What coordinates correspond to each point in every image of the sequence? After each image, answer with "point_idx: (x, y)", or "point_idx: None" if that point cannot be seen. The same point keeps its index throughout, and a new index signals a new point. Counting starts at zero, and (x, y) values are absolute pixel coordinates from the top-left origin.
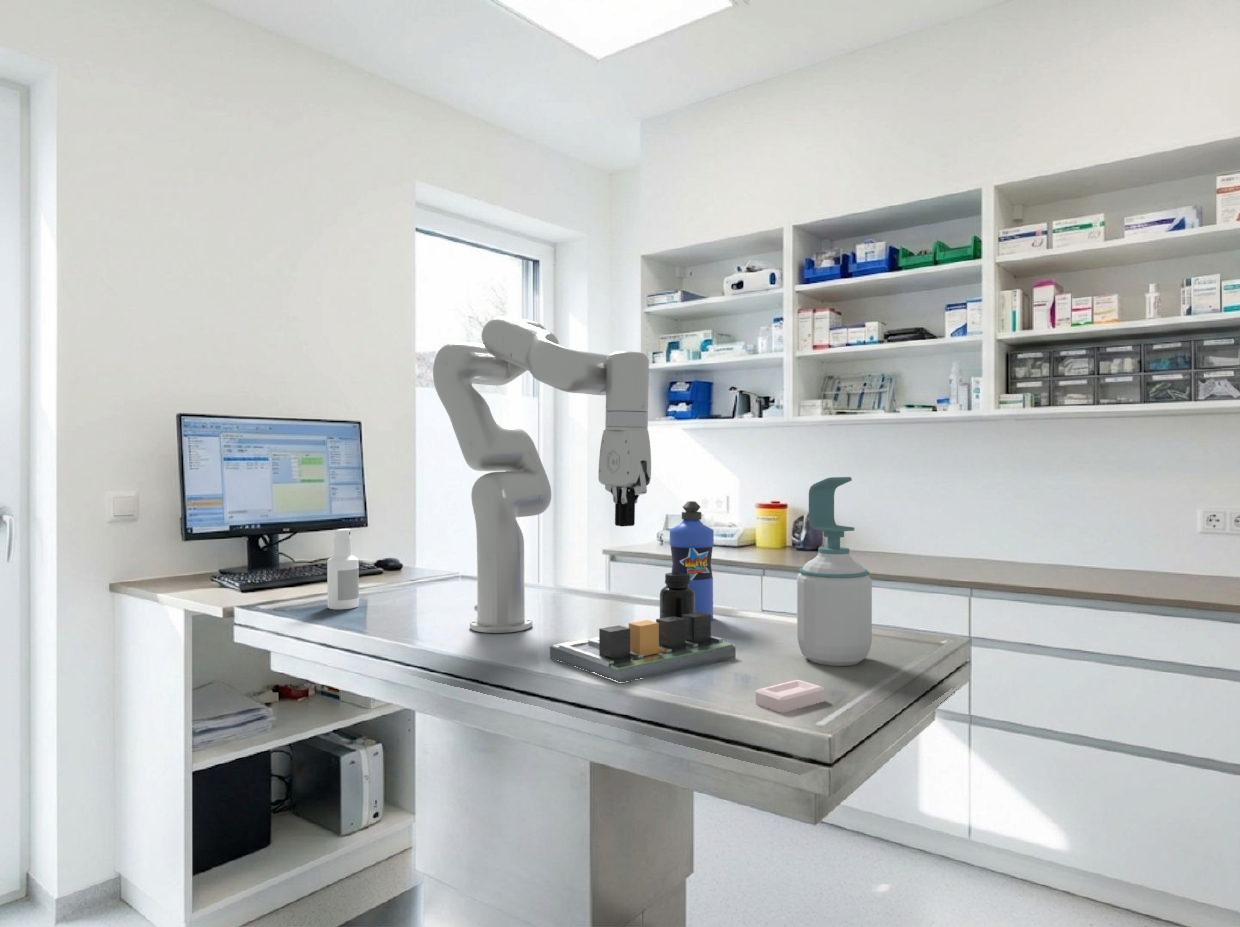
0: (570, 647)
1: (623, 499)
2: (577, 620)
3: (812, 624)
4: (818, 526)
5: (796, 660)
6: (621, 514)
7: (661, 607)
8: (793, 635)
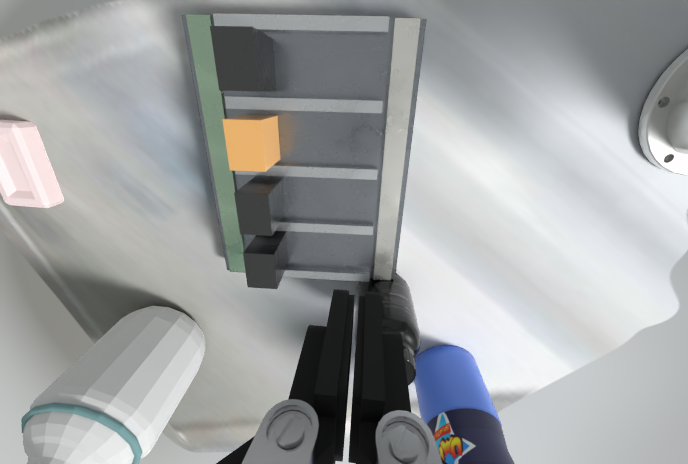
0: (355, 23)
1: (287, 438)
2: (596, 254)
3: (121, 334)
4: None
5: (188, 302)
6: (327, 337)
7: (396, 301)
8: (285, 378)
